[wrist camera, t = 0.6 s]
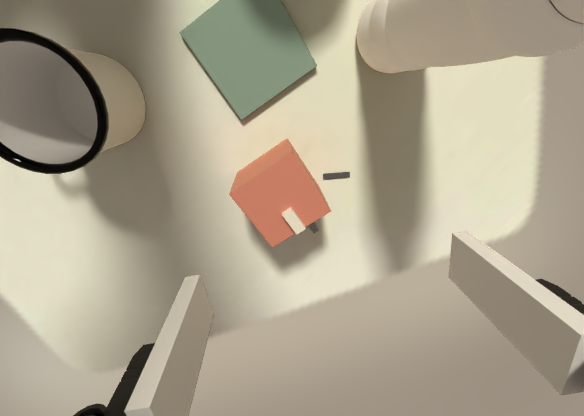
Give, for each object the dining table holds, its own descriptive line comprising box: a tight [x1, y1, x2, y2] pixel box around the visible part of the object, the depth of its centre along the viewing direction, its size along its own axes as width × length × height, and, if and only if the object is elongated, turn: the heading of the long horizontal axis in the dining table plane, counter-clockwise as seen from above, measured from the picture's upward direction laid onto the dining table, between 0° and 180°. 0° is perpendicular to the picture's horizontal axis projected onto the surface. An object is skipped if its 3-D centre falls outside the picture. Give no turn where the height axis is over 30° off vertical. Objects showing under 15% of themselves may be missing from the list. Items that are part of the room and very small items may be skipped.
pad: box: [180, 0, 317, 120], centre depth 27 cm, size 9×9×1 cm
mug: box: [0, 28, 146, 174], centre depth 24 cm, size 12×10×9 cm
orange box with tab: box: [229, 139, 331, 247], centre depth 29 cm, size 7×7×8 cm
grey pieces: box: [309, 172, 350, 233], centre depth 31 cm, size 10×9×4 cm
